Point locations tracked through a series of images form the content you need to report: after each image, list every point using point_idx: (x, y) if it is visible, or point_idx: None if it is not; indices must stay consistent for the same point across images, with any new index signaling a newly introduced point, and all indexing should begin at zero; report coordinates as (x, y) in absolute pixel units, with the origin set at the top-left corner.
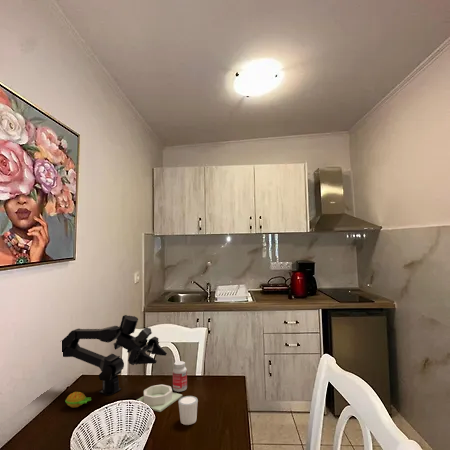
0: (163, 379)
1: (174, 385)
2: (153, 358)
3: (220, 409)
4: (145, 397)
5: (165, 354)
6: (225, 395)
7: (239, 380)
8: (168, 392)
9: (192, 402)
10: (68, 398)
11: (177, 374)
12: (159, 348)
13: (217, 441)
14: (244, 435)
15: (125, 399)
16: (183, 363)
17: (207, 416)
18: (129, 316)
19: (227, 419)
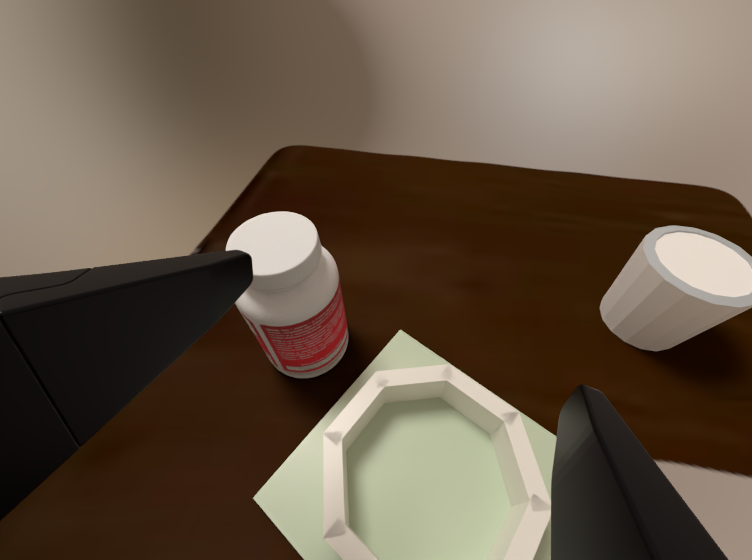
0: (108, 444)
1: (328, 356)
2: (607, 436)
3: (532, 216)
4: None
5: (247, 273)
6: (425, 193)
7: (318, 151)
8: (466, 387)
9: (718, 246)
10: None
11: (335, 298)
12: (97, 301)
13: (748, 244)
14: (682, 186)
15: None
16: (298, 218)
17: (590, 255)
18: None
19: (599, 207)
